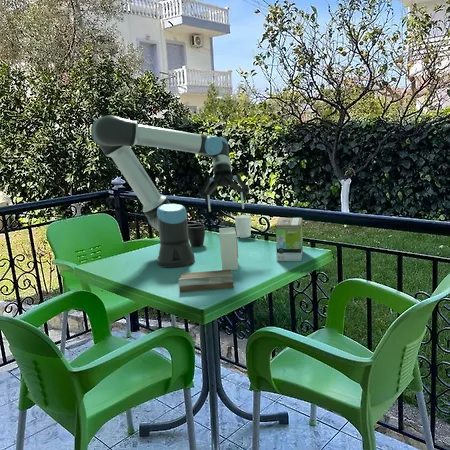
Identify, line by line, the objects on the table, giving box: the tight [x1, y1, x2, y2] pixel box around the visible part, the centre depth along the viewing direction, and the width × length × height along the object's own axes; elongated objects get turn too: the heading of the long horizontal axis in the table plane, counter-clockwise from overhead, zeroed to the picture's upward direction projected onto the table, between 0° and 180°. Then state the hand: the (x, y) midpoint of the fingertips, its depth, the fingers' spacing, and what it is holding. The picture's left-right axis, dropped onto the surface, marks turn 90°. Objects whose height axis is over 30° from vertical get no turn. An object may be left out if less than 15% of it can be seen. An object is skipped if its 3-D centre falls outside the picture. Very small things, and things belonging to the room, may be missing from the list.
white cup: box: [234, 214, 252, 239], centre depth 219 cm, size 8×8×10 cm
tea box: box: [275, 217, 304, 262], centre depth 179 cm, size 15×10×15 cm, turn 168°
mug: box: [187, 223, 206, 248], centre depth 209 cm, size 8×12×10 cm
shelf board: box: [178, 269, 234, 293], centre depth 155 cm, size 14×18×4 cm
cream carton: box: [218, 226, 239, 271], centre depth 172 cm, size 6×11×14 cm, turn 2°
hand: (226, 208), depth 180 cm, fingers open, 13 cm apart
